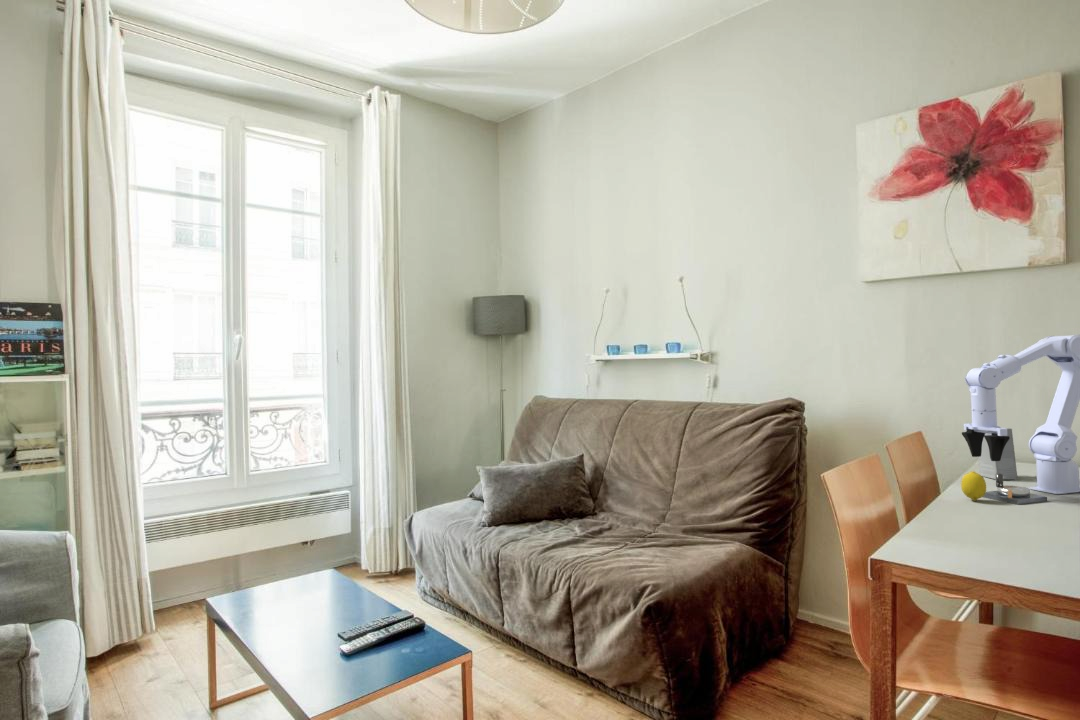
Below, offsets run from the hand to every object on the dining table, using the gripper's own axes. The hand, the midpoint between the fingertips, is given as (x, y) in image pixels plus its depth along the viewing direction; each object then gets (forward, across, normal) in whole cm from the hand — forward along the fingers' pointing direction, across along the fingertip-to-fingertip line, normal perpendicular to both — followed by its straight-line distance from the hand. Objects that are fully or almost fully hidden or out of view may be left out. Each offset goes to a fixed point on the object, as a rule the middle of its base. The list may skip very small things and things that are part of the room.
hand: (985, 458), depth 172 cm
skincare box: (+10, -20, +17) cm, 29 cm away
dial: (+8, +7, +2) cm, 11 cm away
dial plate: (+10, +7, +2) cm, 12 cm away
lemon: (+10, +8, -9) cm, 15 cm away
